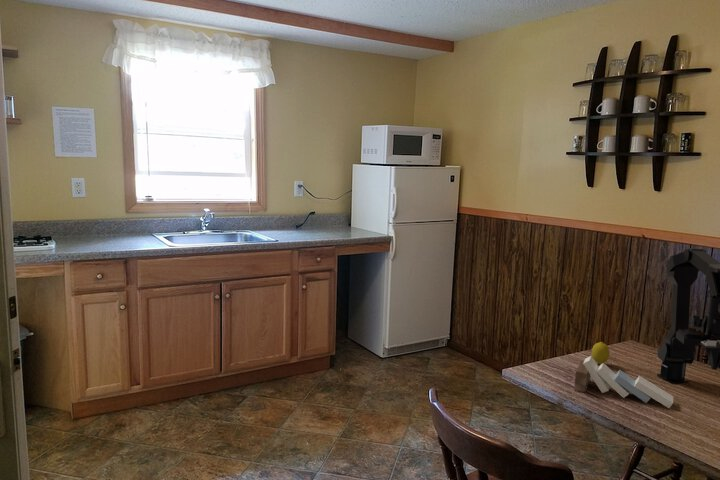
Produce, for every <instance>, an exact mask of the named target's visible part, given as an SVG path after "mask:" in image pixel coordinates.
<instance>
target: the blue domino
mask: <svg viewBox="0 0 720 480" xmlns="http://www.w3.org/2000/svg"><path fill="white" fill-rule="evenodd" d="M615 374H616V376H615V379H614V380H615V381H616V382H617V383H619V384H620V385H622V386H623V387H624V388H626V389H627V390H629V393H632V394H633V395H634V396H636V397H637V398H638V399H639V400H641V401H642V402H644V403H645V404H647V403H648V402H649V401H650V399H652V397H650V396H648V395H647V394H645V393H644V392H642V391H640V390H639V389H637V388H636V387H634V386H635V381H636V379H634V378H632V377H631V376H630V375H628V374H627V373H626V372H624V371H622V370H621V369H619V370H618V372H617V373H615Z"/></svg>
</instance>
